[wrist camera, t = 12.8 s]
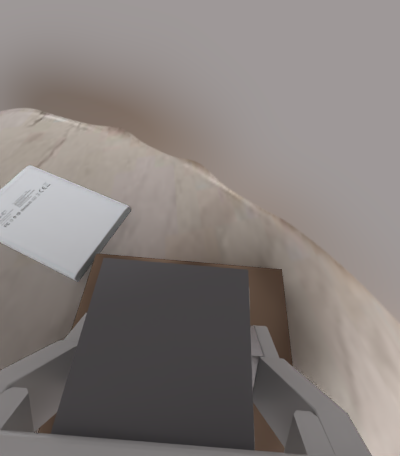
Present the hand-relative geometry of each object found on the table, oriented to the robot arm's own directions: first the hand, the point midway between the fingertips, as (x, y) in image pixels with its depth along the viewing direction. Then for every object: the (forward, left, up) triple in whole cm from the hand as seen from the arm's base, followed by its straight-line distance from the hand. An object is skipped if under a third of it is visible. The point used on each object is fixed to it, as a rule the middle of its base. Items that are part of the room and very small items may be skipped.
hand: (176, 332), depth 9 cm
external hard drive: (-14, +10, -10) cm, 20 cm away
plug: (0, -1, -5) cm, 5 cm away
